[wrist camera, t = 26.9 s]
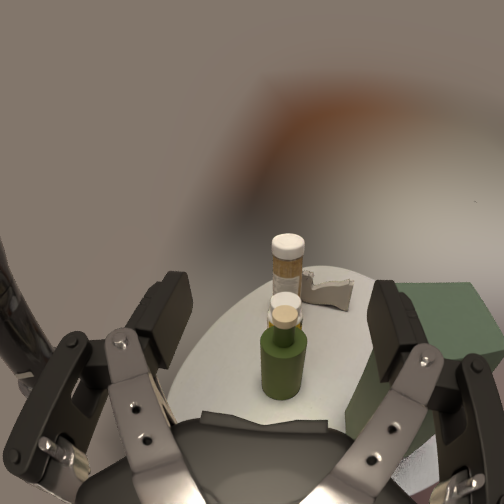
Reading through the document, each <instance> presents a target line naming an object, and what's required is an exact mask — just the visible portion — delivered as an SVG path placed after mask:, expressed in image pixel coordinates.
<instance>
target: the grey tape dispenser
mask: <svg viewBox="0 0 504 504" xmlns="http://www.w3.org/2000/svg"><path fill="white" fill-rule="evenodd" d="M309 273H310V274H309ZM313 277H314V273H313V272H310V271H305V270H304V271H302V280H301V281H302V287H301V298H300V299H301V300H302V301H304V302H306V301H307V303H309V304H310V303H311V304H318V305H319V303H320V305H321V304H322V305H323V304H326V305H327V304H328V305H329V304H330V305H334V306H337V307H338V308H340V309H341V310H345V311H348V307H349V302H350V298H351V294H352V289H353V285H354V280H351V281H350V279H348V280H344V281H340V282H339V281H329V282H324V283H320V284H318V285H314V284H313Z"/></svg>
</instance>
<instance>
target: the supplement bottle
mask: <svg viewBox="0 0 504 504" xmlns="http://www.w3.org/2000/svg"><path fill="white" fill-rule="evenodd" d="M281 305H289V306H292V307H294V308H295V309H296V310H297V312H298V319H297V324H296V325H295V326H296V327H298V328H299V329H301V330H302V320H303V313H302V311H301V299H300V297H299V296H298V295H296V294H294V293H292V292H280V293H277V294H275V295H274V296H272V298H271V300H270V309H269V311H268V314H267V329H268V328H270V327H272V326H274V324H273V322H272V312H273V310H274V309H275V308H276V307H278V306H281Z"/></svg>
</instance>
